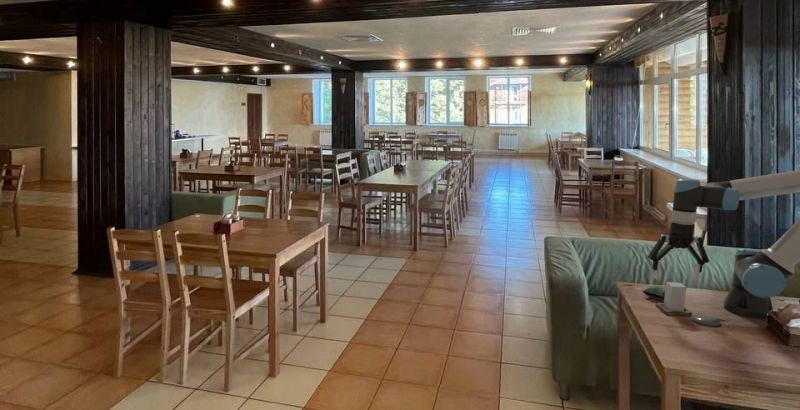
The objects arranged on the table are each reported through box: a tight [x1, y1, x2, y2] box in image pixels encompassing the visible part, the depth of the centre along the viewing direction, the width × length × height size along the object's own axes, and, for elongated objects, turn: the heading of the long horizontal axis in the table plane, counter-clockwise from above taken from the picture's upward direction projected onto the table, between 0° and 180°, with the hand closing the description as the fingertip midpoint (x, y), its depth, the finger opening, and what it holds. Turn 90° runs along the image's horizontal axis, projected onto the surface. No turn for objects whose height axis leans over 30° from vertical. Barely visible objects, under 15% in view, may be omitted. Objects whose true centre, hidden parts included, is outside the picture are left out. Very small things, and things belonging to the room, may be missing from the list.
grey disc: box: [690, 313, 721, 327], centre depth 185 cm, size 9×9×1 cm
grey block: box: [663, 281, 687, 311], centre depth 193 cm, size 5×5×10 cm
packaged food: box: [641, 284, 666, 302], centre depth 207 cm, size 9×12×5 cm
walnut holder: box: [655, 302, 693, 317], centre depth 194 cm, size 9×9×1 cm
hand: (675, 280), depth 192 cm, fingers open, 13 cm apart
